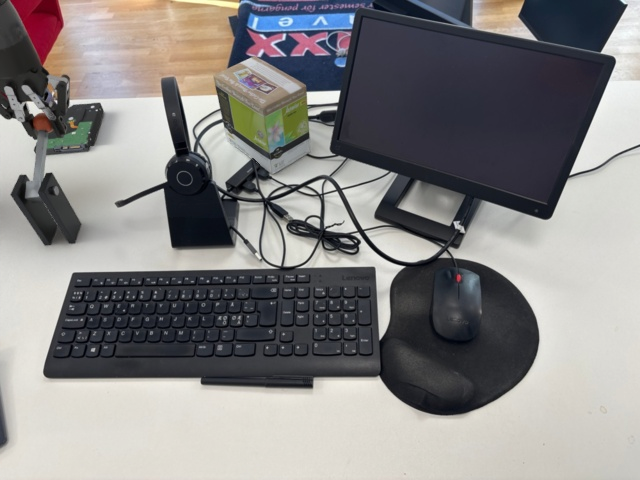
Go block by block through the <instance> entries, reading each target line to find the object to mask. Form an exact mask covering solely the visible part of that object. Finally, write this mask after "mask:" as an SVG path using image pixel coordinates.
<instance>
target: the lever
mask: <svg viewBox="0 0 640 480" xmlns="http://www.w3.org/2000/svg"><path fill="white" fill-rule="evenodd" d="M33 126H34V127H35V129H36V130H37V131H38V138H37V140H36V143H37V148H36V154H35V159H34V166H33V176H32V180H30V181H27V182H26V191H25V198H26V199H27V200H29V201H30V202H31V203H33V204H37V203H44V202H43V201H42V199H41V197H40V196H39V194H38V190H39V188H40V186H41V183H42V181H43V179H44V176H45V168H46V160H47V159H46V158H47V155H46V150H47V140H48V133H49V132H51V131H53V128H52V126H51V124H50V122H49V118H48V117H47V116H46V115H45V113H44V112H38V113H37V114H36V115H34V118H33Z"/></svg>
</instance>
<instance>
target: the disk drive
mask: <svg viewBox="0 0 640 480" xmlns="http://www.w3.org/2000/svg"><path fill="white" fill-rule="evenodd" d="M104 115H105V111H104V108H103V106H102V103H101V102H92V103H77V104H72V105H71V106H69V107H68V110H67V112H66V114H65V116H62V117H63V119H64V121H65V123H66V125H67V131H66V133H65V135H64V137H63V138H57V136H56V134H55V132H54V130H53V131H51V132H49V133H48V140H47V150H46V156H54V155H64V154H65V155H66V154H76V153H87V152H90V149H91V147H94V145H95V143H96V139H97V136H98V133H99V130H100V127H101V123H102V120H103V116H104ZM36 148H37V142H36V143H35V146H34V148H33V152H34V154H35V155H36Z"/></svg>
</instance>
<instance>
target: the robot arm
mask: <svg viewBox="0 0 640 480" xmlns="http://www.w3.org/2000/svg"><path fill="white" fill-rule="evenodd" d="M49 85H51V87H52V90H53V92H54V93H56V101H57V102H56V101H55V99H54V98H53V97H54V96H53V94H52V92H51V91H50V89H49V88H48V86H49ZM70 96H71V78H70V76H69V75H68V74H61V76H57V75H53V74H50V72H49V70H48V69H46V68H45V67H44V66H43V65H42V62H41V59H40V56H39V53H38V52H37V49H36V48H35V46H34V44H33V42H32V39H31V37H30V36H29V33H28V31H27V29H26V27H25V25H24V23H23V21H22V18H21V17H20V15H19V12H18V11H17V9H16V8H15V6H14V4H13V3H12V2H11V0H0V116H1V117H2V118H4V119H5V120H8V121H10V120H12V119H15V120H16V121H18V122H19V123H20V124H21V125H22V127H23V128H24V130H25V132H26V134H27V136H28V137H30V138H32V139H33V140H34V141H37V138H38V131H37V130H36V129H35V127H34V126H33V118H34V117H35V115H34V114H33V113H30V108H29V107H30V106H29V104H28V102H33V104H34V105H35V107H36V108H37V109H38V110H41V112H42V113H45V115H46V116H47V117H48V118H49V122H50V124H51V126H52V128H53V130H54V132H55V134H56V136H57V138H63V137H64V135H65V133H66V131H67V125H66V123H65V121H64V119H63V117H62V116H65V114H66V112H67V110H68V108H69V107H70V105H71V104H70V103H71V102H70V101H71V97H70Z"/></svg>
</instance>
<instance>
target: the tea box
mask: <svg viewBox="0 0 640 480" xmlns="http://www.w3.org/2000/svg"><path fill="white" fill-rule="evenodd" d="M213 81H214V86H215V92H216V95H217V100H218V105H219V110H220V115H221V120H222V124H223V129H224V134H225V137H226V141H227V142H229V143H230V144H232V146H234V147H235V148H237V149H238V150H240V151H241V152H242V153H243V154H245V155H246V156H247V157H248V158H250V159H251V160H253V159H252V158H254V159H255V160H256V161H257V162H258V163H259V164H260V165H259V164H258V163H257V162H256V163H257V164H258V165H259V166H260V167H262V168H263V169H265V170H266V172H268V173H270V174H271V175H274V174H276V173H278V172H279V171H281V170H283V169H284V168H285V169H286V167H288V166H290V165H291V164H293V163H295V162H296V161H298V160H300V159H302V158H303V157H305V156H307V155H308V154H309V153H311V137H310V135H311V134H310V122H309V107H308V92H307V85H306V84H304V82H302V81H300V80H299V79H296V78H295V77H293V76H291V75H289V74H287V73H286V72H284V71H282V70H280V69H278V68H277V67H275V66H274V65H272V64H270V63H268V62H267V61H265V60H263V59H262V58H259V57H258V56H256V55H254V56H251V57H250V58H248V59H247V58H246V59H245V60H243V61H241V62H239V63H236V64H235V65H232V66H230V67H227V68H225V69H223V70H222V71H219V72H217V73H214V74H213Z"/></svg>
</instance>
